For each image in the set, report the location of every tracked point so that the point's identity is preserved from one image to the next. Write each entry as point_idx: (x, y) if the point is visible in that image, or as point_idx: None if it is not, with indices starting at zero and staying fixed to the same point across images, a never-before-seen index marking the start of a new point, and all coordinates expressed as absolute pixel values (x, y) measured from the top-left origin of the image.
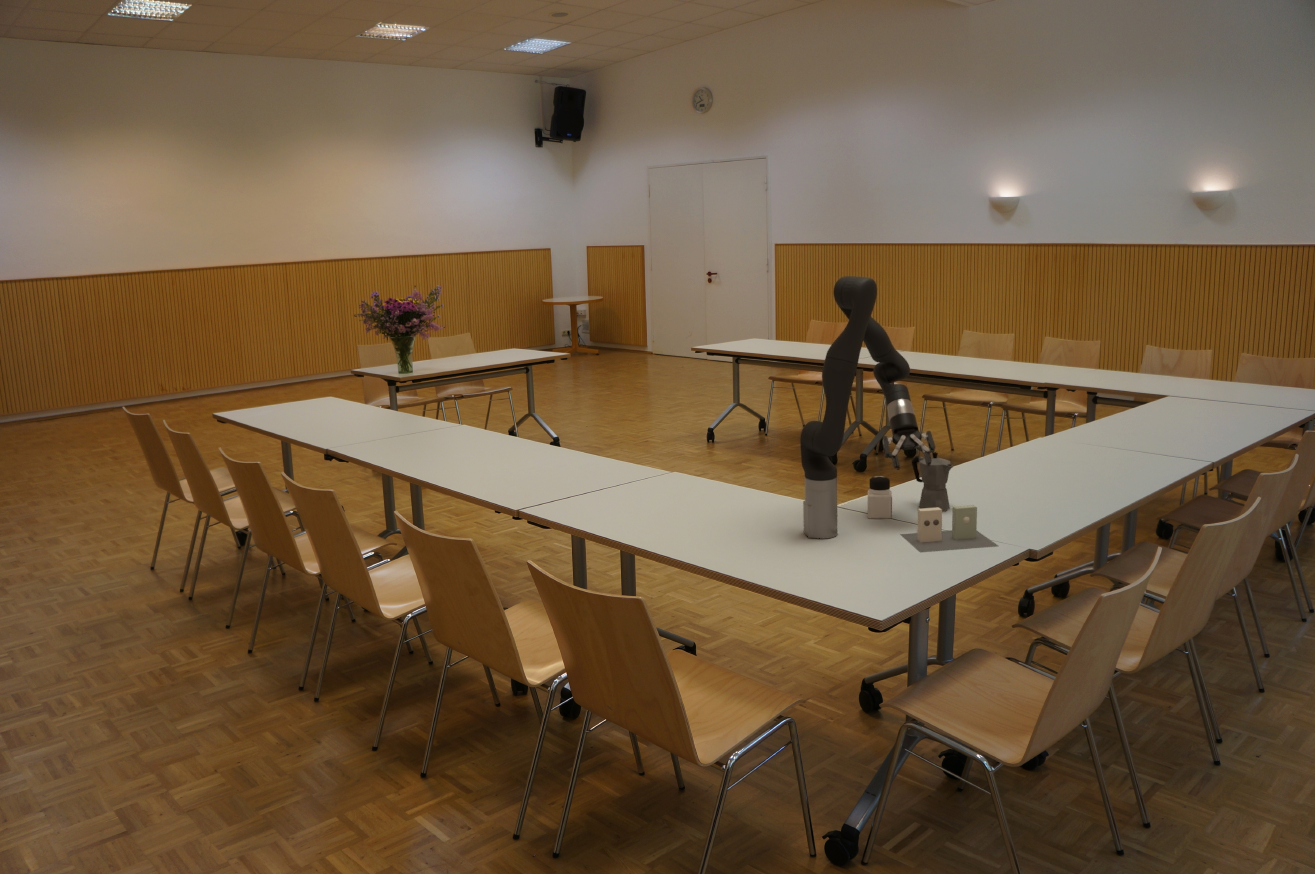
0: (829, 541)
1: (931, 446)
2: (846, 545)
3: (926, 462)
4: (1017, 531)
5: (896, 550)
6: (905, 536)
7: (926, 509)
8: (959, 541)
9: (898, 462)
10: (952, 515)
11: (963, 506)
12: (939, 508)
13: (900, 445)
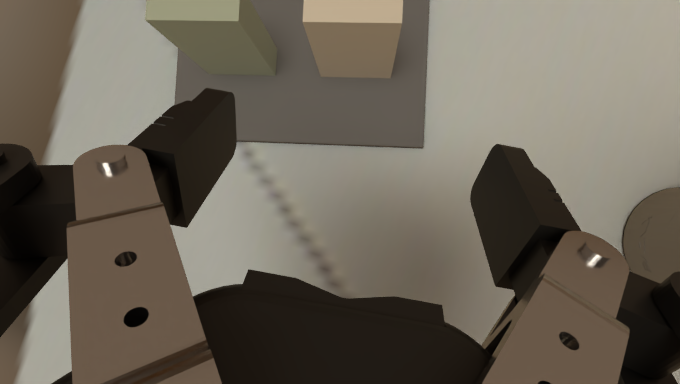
0: (675, 160)
1: (4, 175)
2: (629, 105)
3: (223, 141)
4: (62, 98)
5: (486, 19)
6: (414, 120)
7: (368, 3)
8: (273, 29)
9: (516, 167)
10: (252, 40)
11: (195, 7)
12: (306, 4)
13: (539, 314)
